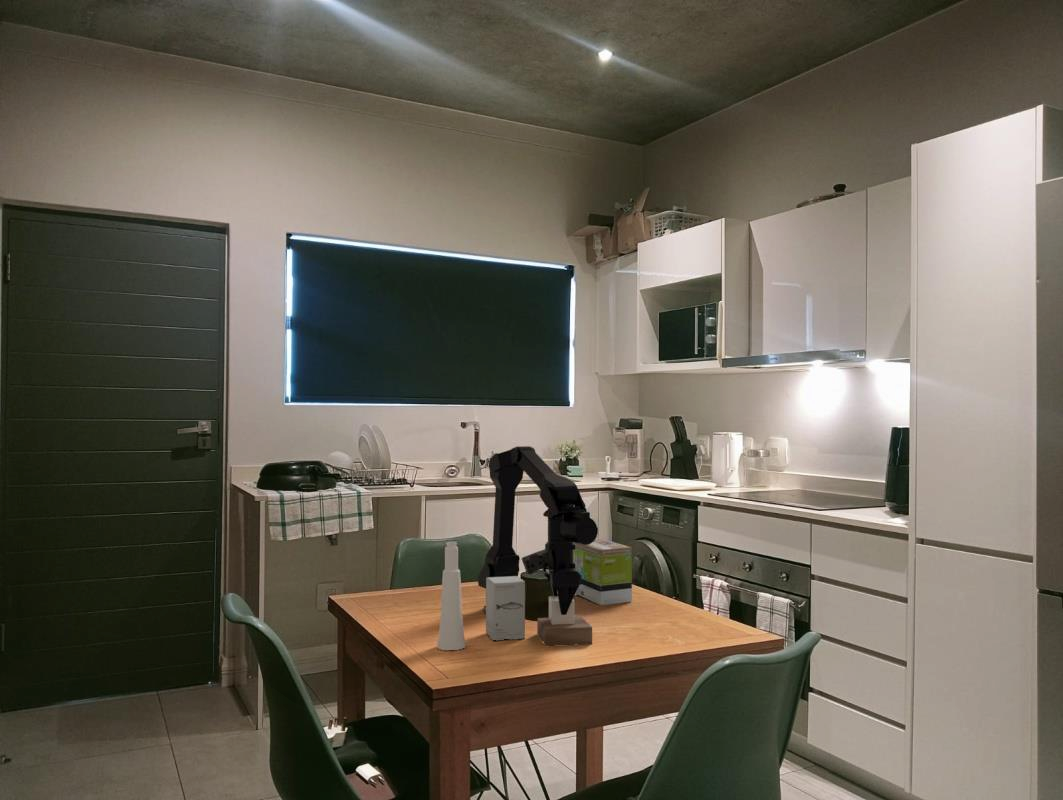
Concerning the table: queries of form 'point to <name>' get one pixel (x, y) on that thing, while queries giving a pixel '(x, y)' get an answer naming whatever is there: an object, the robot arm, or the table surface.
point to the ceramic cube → (555, 612)
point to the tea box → (604, 572)
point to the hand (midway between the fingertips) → (560, 610)
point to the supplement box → (505, 608)
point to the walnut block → (564, 632)
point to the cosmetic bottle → (451, 603)
